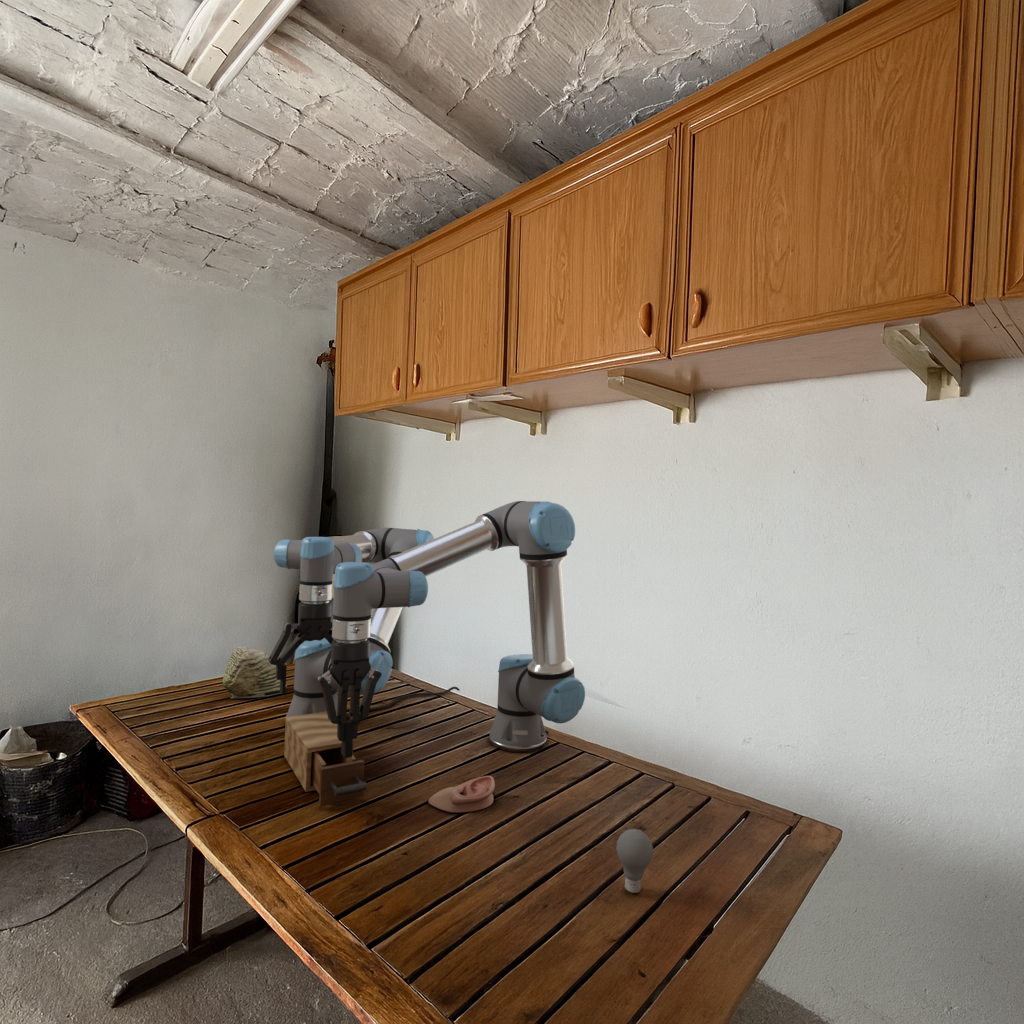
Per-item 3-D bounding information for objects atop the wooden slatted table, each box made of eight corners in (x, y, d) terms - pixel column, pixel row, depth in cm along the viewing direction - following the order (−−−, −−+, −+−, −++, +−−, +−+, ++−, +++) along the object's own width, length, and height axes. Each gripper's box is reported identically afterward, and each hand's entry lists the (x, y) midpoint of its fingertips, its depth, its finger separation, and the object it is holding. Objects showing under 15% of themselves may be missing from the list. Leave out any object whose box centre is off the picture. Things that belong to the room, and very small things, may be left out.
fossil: (218, 695, 195) (220, 647, 195) (278, 685, 208) (279, 640, 207) (228, 703, 189) (230, 653, 188) (289, 692, 201) (290, 645, 201)
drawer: (372, 808, 128) (373, 772, 127) (328, 818, 123) (329, 780, 123) (335, 761, 149) (336, 729, 149) (297, 768, 145) (298, 735, 145)
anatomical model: (423, 789, 130) (441, 766, 141) (423, 808, 130) (440, 784, 141) (486, 798, 127) (499, 774, 139) (485, 817, 128) (498, 792, 139)
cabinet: (351, 782, 141) (353, 740, 141) (305, 792, 136) (307, 748, 135) (325, 748, 159) (327, 711, 159) (284, 755, 154) (285, 717, 153)
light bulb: (610, 879, 108) (613, 822, 108) (644, 879, 109) (647, 822, 109) (619, 902, 102) (622, 840, 102) (655, 901, 103) (658, 840, 103)
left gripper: (263, 606, 142) (260, 700, 142) (371, 601, 155) (367, 687, 156) (257, 601, 148) (254, 691, 149) (361, 596, 162) (357, 679, 162)
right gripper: (323, 646, 121) (318, 768, 122) (388, 640, 128) (383, 756, 128) (313, 637, 127) (309, 754, 128) (375, 633, 134) (371, 743, 135)
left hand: (312, 689), depth 152 cm, fingers open, 13 cm apart
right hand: (346, 755), depth 128 cm, fingers closed
